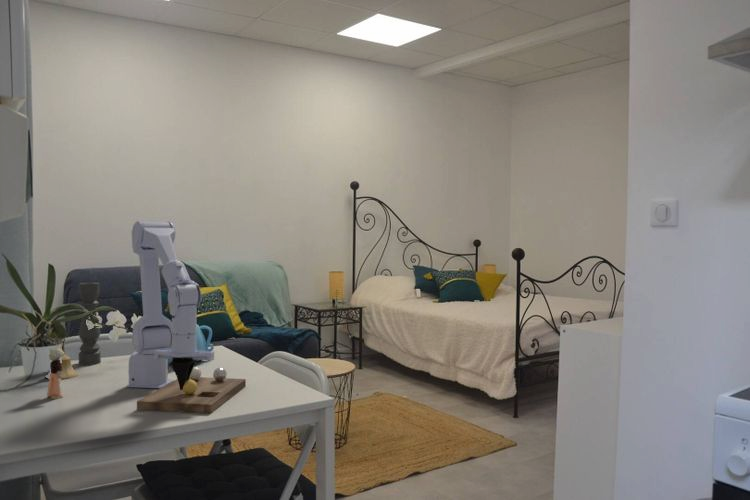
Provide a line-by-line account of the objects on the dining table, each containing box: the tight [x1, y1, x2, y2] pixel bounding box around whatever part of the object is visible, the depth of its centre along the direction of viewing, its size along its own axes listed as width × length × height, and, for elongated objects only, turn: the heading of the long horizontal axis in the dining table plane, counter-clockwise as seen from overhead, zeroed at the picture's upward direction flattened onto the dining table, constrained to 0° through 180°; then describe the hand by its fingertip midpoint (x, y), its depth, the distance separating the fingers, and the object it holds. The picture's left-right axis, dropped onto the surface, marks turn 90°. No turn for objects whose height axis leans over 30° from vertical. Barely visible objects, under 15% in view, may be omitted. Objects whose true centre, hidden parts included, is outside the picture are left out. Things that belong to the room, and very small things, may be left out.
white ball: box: [190, 366, 202, 380], centre depth 159 cm, size 4×4×4 cm
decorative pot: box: [168, 324, 215, 366], centre depth 191 cm, size 16×16×14 cm
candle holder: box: [78, 282, 102, 366], centre depth 187 cm, size 6×6×25 cm
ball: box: [183, 380, 197, 394], centre depth 146 cm, size 4×4×4 cm
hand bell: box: [61, 326, 79, 381], centre depth 170 cm, size 8×8×16 cm
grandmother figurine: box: [46, 346, 64, 400], centre depth 149 cm, size 8×4×13 cm, turn 49°
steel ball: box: [212, 367, 228, 381], centre depth 158 cm, size 4×4×4 cm
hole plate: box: [136, 377, 247, 414], centre depth 150 cm, size 18×24×2 cm
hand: (184, 388), depth 146 cm, fingers closed, pressing on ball
